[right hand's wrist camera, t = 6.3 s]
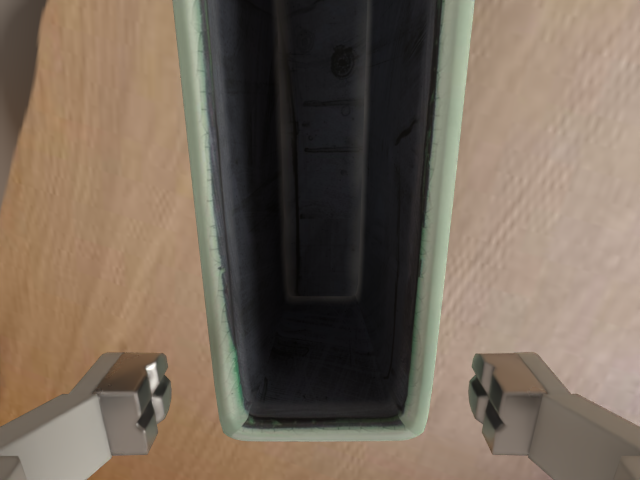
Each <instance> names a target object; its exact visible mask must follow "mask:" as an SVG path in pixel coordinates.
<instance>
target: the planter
mask: <svg viewBox="0 0 640 480" xmlns="http://www.w3.org/2000/svg"><path fill="white" fill-rule="evenodd" d="M474 2H475V0H173V10H174V19H175V28H176V38H177V47H178V56H179V66H180V75H181V84H182V93H183V103H184V112H185V121H186V131H187V140H188V149H189V159H190V168H191V177H192V186H193V196H194V205H195V214H196V223H197V232H198V241H199V250H200V260H201V269H202V278H203V287H204V296H205V305H206V314H207V323H208V332H209V341H210V350H211V358H212V367H213V376H214V384H215V392H216V399H217V406H218V412H219V419H220V423H221V426H222V429H223V433H225V434H226V435H227V436H229V437H231V438H233V439H237V440H242V441H288V442H325V441H401V440H408V439H412V438H414V437H417V436H419V435H420V434H421V433H423V432H424V429H425V426H426V423H427V420H428V413H429V406H430V400H431V393H432V386H433V377H434V368H435V360H436V351H437V342H438V334H439V325H440V316H441V307H442V298H443V289H444V279H445V270H446V261H447V252H448V243H449V234H450V225H451V216H452V206H453V197H454V188H455V179H456V170H457V160H458V151H459V142H460V132H461V123H462V114H463V104H464V95H465V86H466V77H467V67H468V58H469V49H470V39H471V30H472V21H473V12H474Z"/></svg>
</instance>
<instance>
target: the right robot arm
mask: <svg viewBox="0 0 640 480" xmlns="http://www.w3.org/2000/svg"><path fill="white" fill-rule="evenodd" d="M167 368H168V363H167V358H166V356H165V355H164V354H163V353H127V352H126V353H123V352H107V353H105V354H102V355H101V356H100V358H99V359H98V360H97V361H96V362H95V363H94V365H93V366H92V367H91V368H90V369H89V371H88V372H87V373H86V374H85V375H84V377H83V378H82V379H81V380H80V381H79V382H78V384H77V385H76V386H75V387H74V388H73V390H72V391H71V392H70V393H69V394H62V395H60V396H58V397H56V398H54V399H52V400H50V401H48V402H47V403H45V404H43V405H41V406H39V407H37V408H35V409H33V410H31V411H29V412H28V413H26V414H24V415H22V416H20V417H18V418H16V419H14V420H12V421H10V422H9V423H7V424H5V425H3V426H1V427H0V480H86V479H88V478H89V477H90V476H91V475H92V474H93V473H95V472H96V471H97V470H98V469H99V468H100V467H101V466H103V465H104V464H105V463H106V462H107V461H108V460H110V459H111V458H112V456H116V455H147V454H148V452H149V450H150V448H151V446H152V444H153V442H154V440H155V438H156V436H157V434H158V429H157V424H158V423H159V422H161V421H162V420H163V419H165V417H166V415H167V413H168V410H169V407H170V402H171V390H172V389H171V382H170V380H169V379H168V378H167V377H166V376H165V375H164V374H165V372H166V370H167ZM472 368H473V370H474V372H475V374H476V375H475V376H474V377H473V378H472V379H471V380H470V382H469V390H468V394H469V403H470V407H471V410H472V413H473V415H474V417H475V419H477V420H478V421H479V422H481V423H482V424H483V429H482V434H483V436H484V438H485V440H486V442H487V444H488V446H489V448H490V450H491V452H492V454H493V455H524V456H528V458H530V459H531V460H532V461H533V462H534V463H535V464H536V465H538V466H539V467H540V468H541V469H542V470H543V471H544V472H546V473H547V474H548V475H549V476H550V477H551V478H553V479H554V480H640V427H639V426H637V425H635V424H633V423H631V422H629V421H627V420H626V419H624V418H622V417H620V416H618V415H616V414H614V413H612V412H610V411H609V410H607V409H605V408H603V407H601V406H599V405H597V404H595V403H593V402H592V401H590V400H588V399H586V398H584V397H582V396H580V395H578V394H571V393H570V392H569V391H568V390H567V388H566V387H565V386H564V385H563V384H562V382H561V381H560V380H559V379H558V378H557V377H556V375H555V374H554V373H553V372H552V371H551V369H550V368H549V367H548V366H547V365H546V364H545V362H544V361H543V360H542V359H541V358H540V356H539V355H538V354H536V353H534V352H523V353H496V354H475V356H474V358H473V363H472Z"/></svg>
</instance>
